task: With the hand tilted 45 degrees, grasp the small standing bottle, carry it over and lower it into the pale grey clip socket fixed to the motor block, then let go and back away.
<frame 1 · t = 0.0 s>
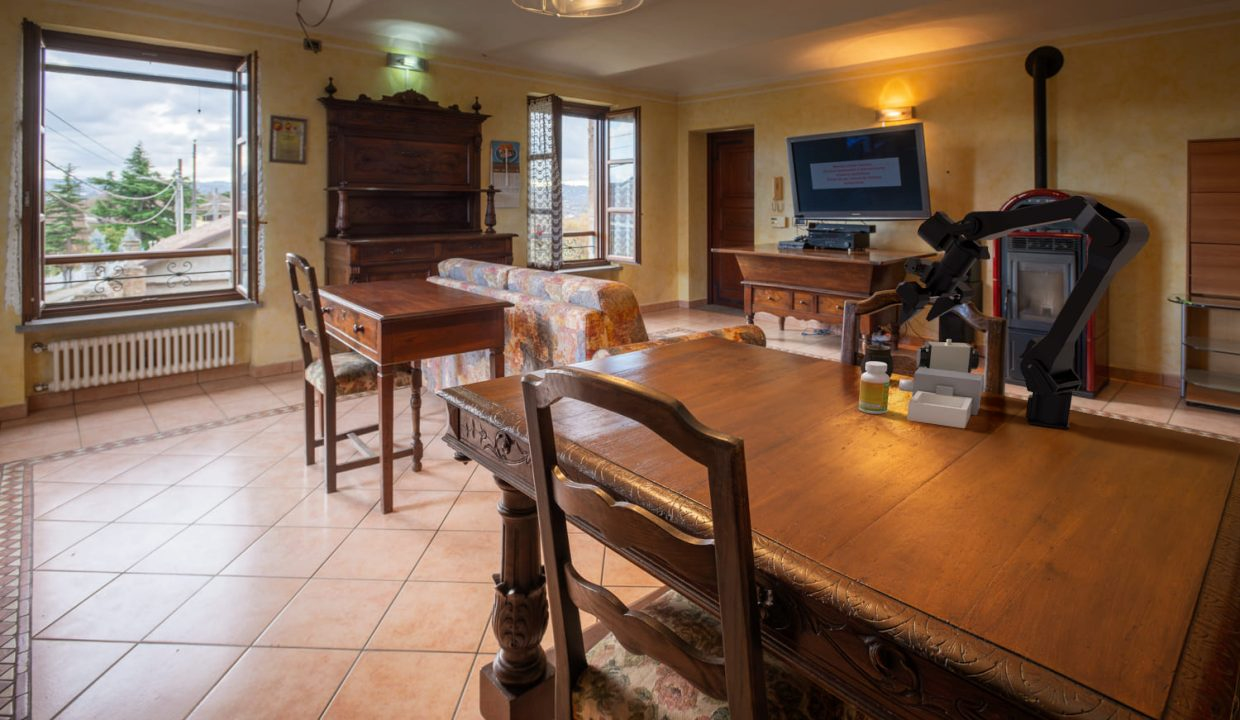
hand: (913, 321, 156), 15 cm above the table, tool tilted 35°, fingers open, 9 cm apart
supplement bottle: (872, 411, 140), on the table
mate gourd: (876, 381, 165), on the table
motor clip: (939, 417, 136), on the table
pneumatic valve: (943, 393, 154), on the table
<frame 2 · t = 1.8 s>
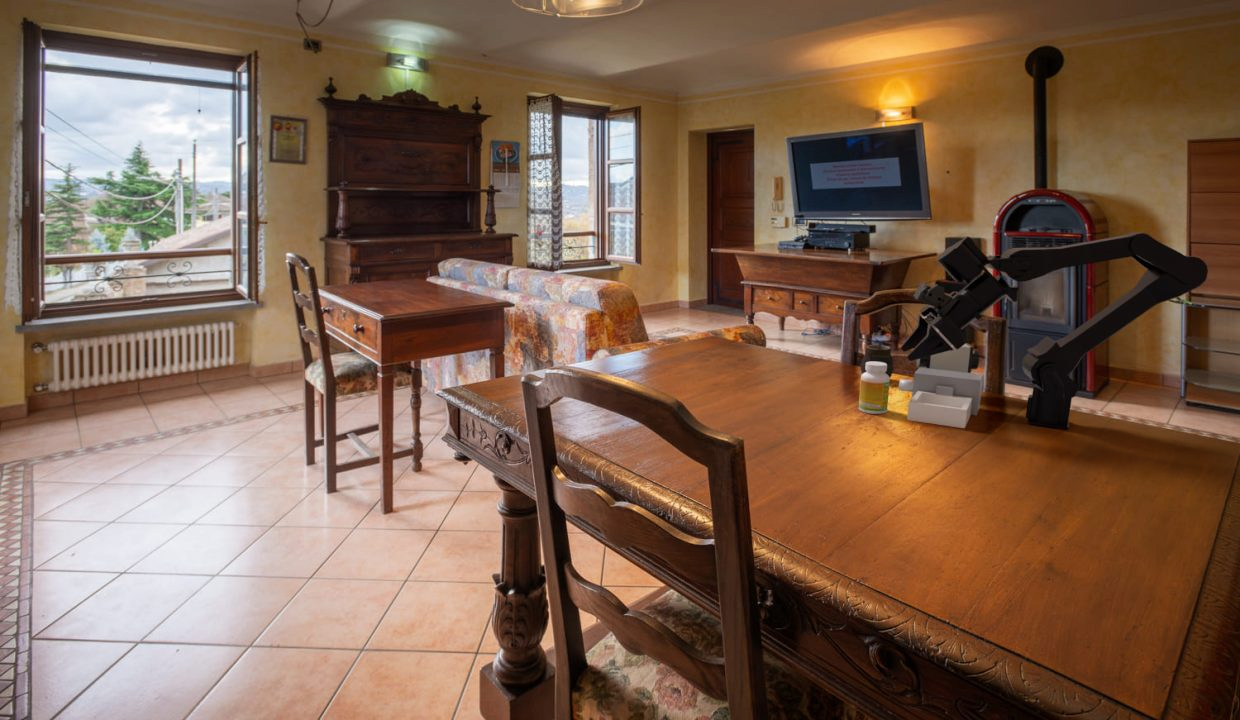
hand: (905, 354, 136), 12 cm above the table, tool tilted 45°, fingers open, 9 cm apart
nothing on the table moved.
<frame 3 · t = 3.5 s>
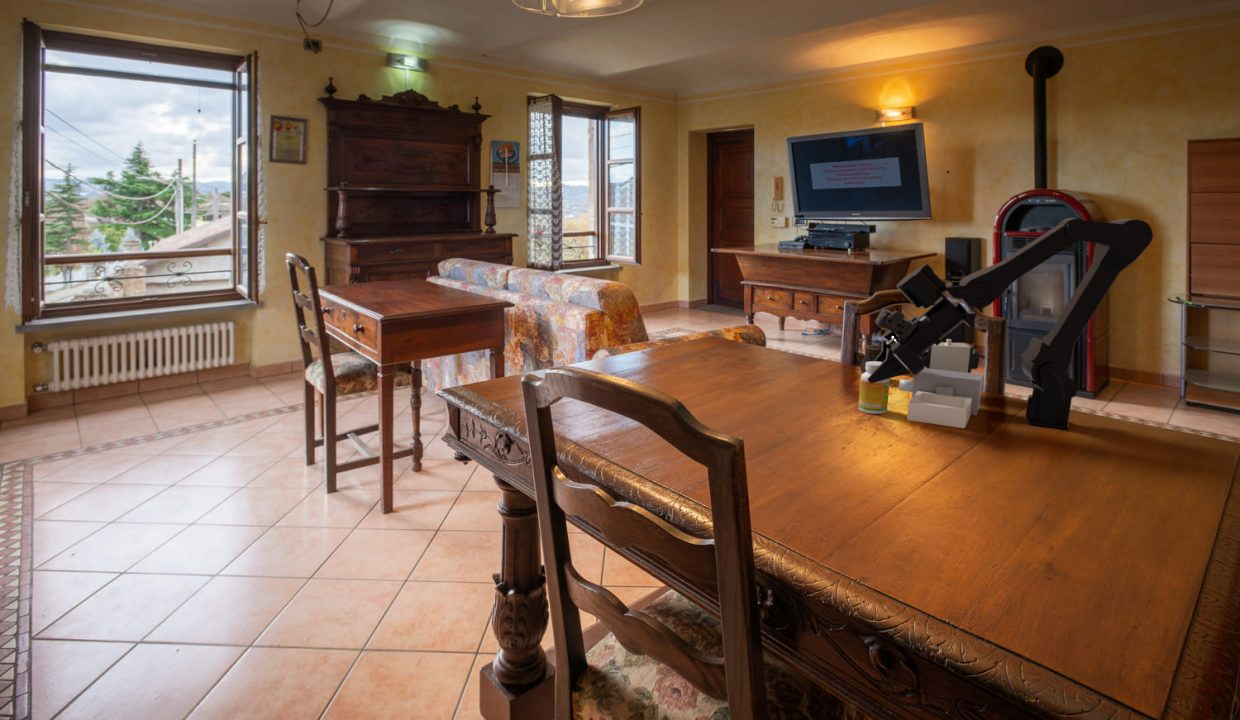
hand: (867, 378, 139), 7 cm above the table, tool tilted 45°, fingers closed on supplement bottle, 5 cm apart
supplement bottle: (872, 411, 140), on the table, touching gripper
everything else where it was.
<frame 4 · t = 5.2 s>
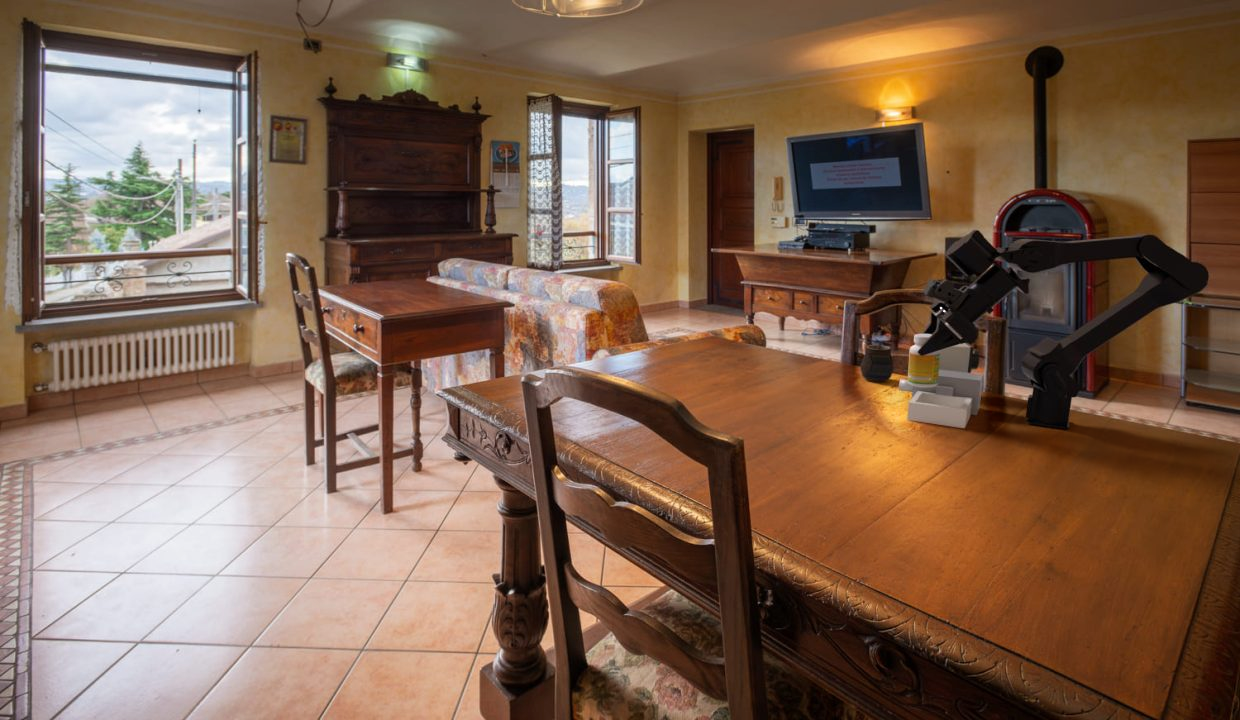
hand: (917, 351, 135), 13 cm above the table, tool tilted 45°, fingers closed on supplement bottle, 5 cm apart
supplement bottle: (922, 385, 136), point 6 cm above the table, touching gripper
everything else where it was.
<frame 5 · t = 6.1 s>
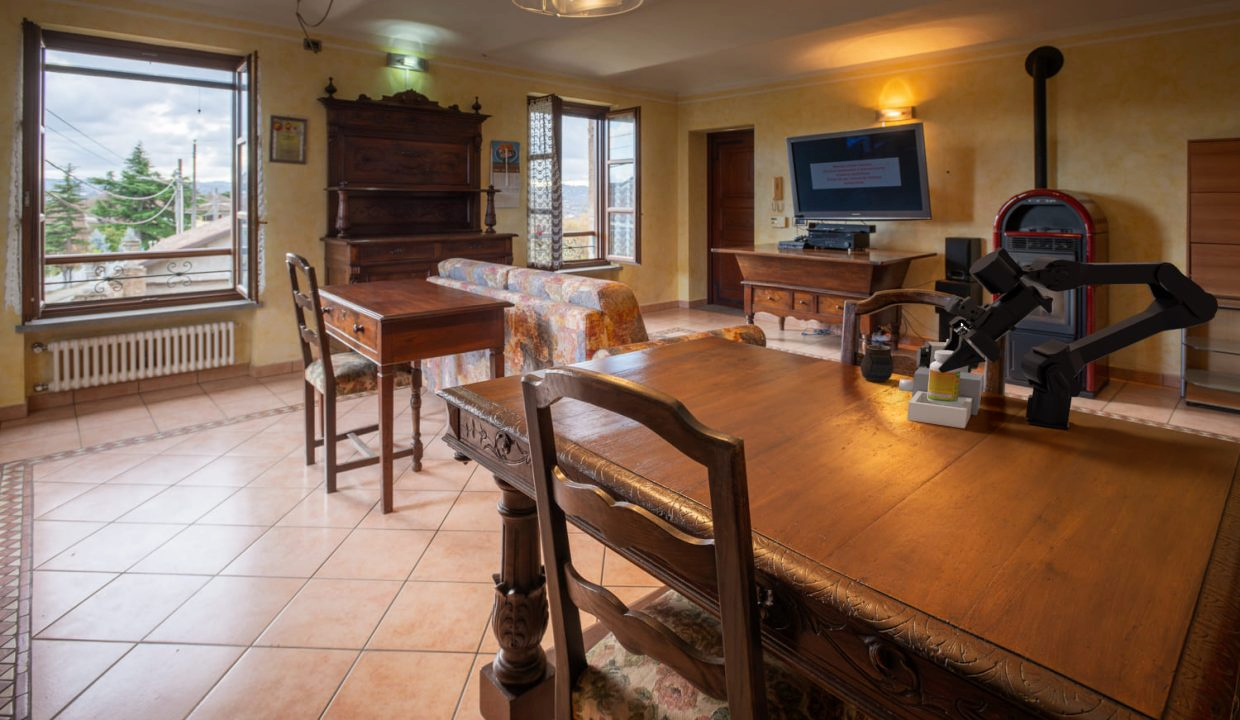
hand: (937, 367, 134), 10 cm above the table, tool tilted 45°, fingers closed on supplement bottle, 5 cm apart
supplement bottle: (942, 402, 135), point 3 cm above the table, touching gripper
everything else where it was.
when the fingers open (8 cm above the table, at t = 6.8 s): supplement bottle stays where it is, resting on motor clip.
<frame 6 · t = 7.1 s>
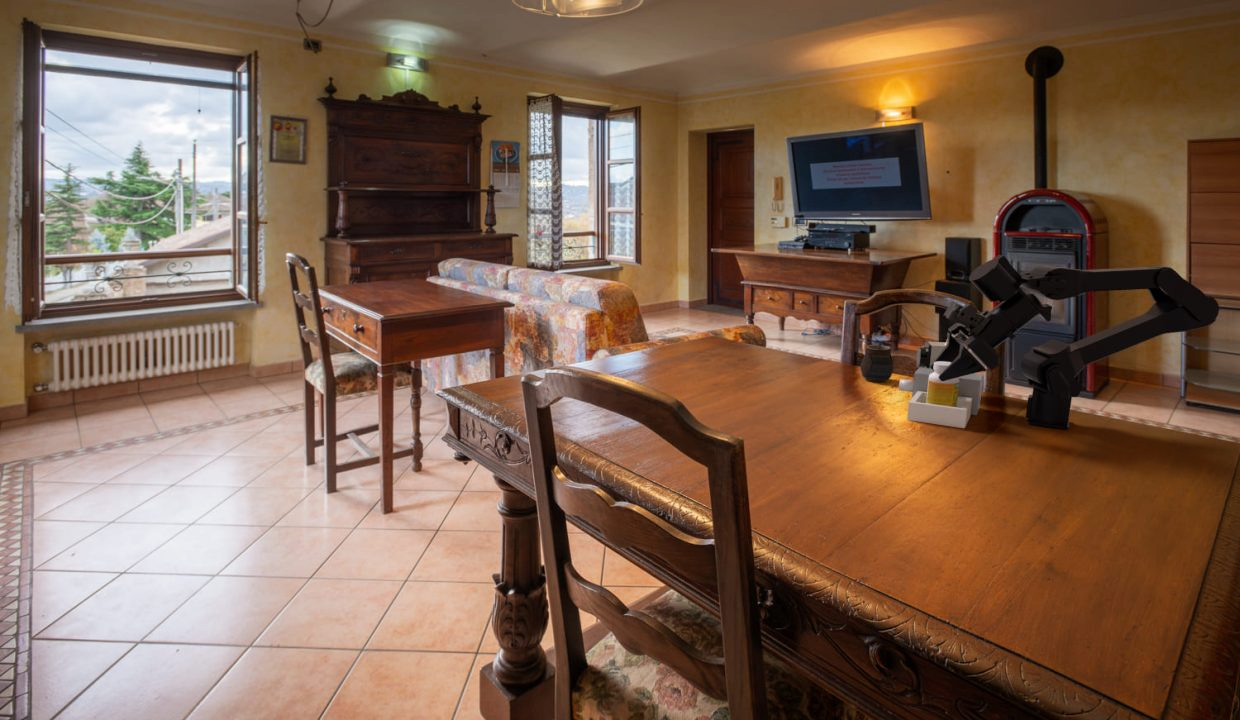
hand: (935, 374, 134), 9 cm above the table, tool tilted 45°, fingers open, 9 cm apart
supplement bottle: (940, 413, 136), point 1 cm above the table, touching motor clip
everything else where it was.
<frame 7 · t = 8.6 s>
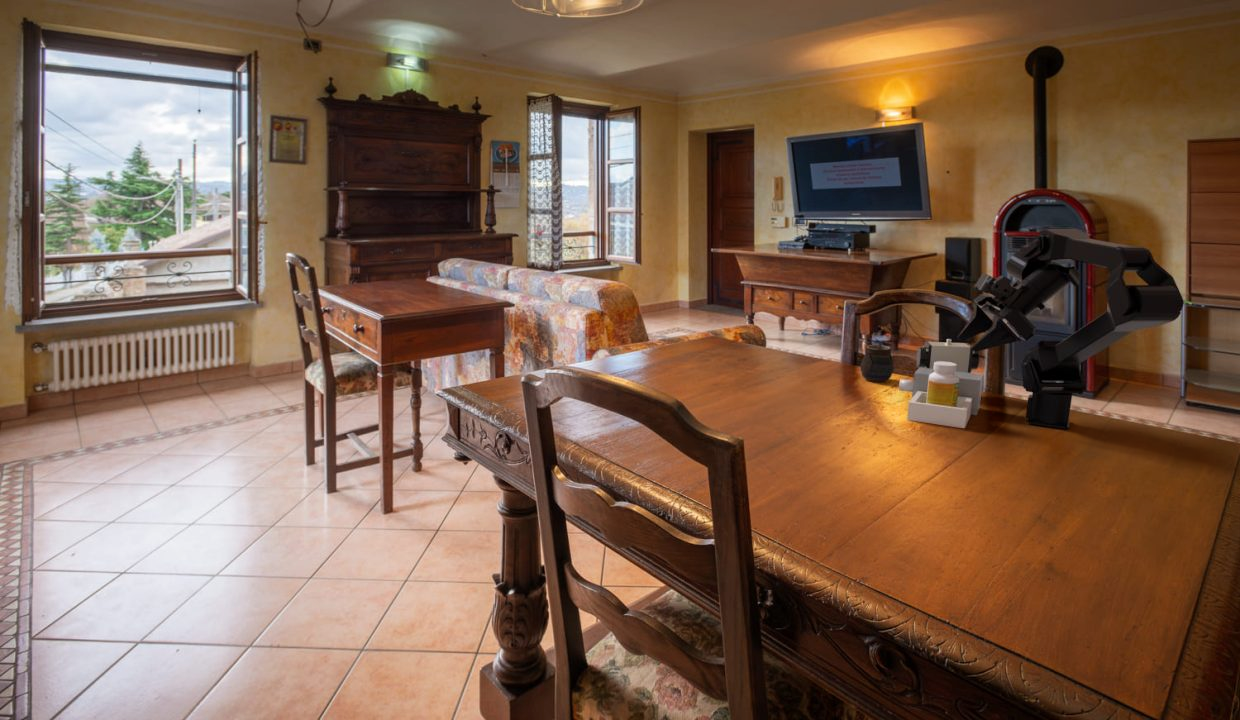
hand: (965, 344, 138), 13 cm above the table, tool tilted 45°, fingers open, 9 cm apart
nothing on the table moved.
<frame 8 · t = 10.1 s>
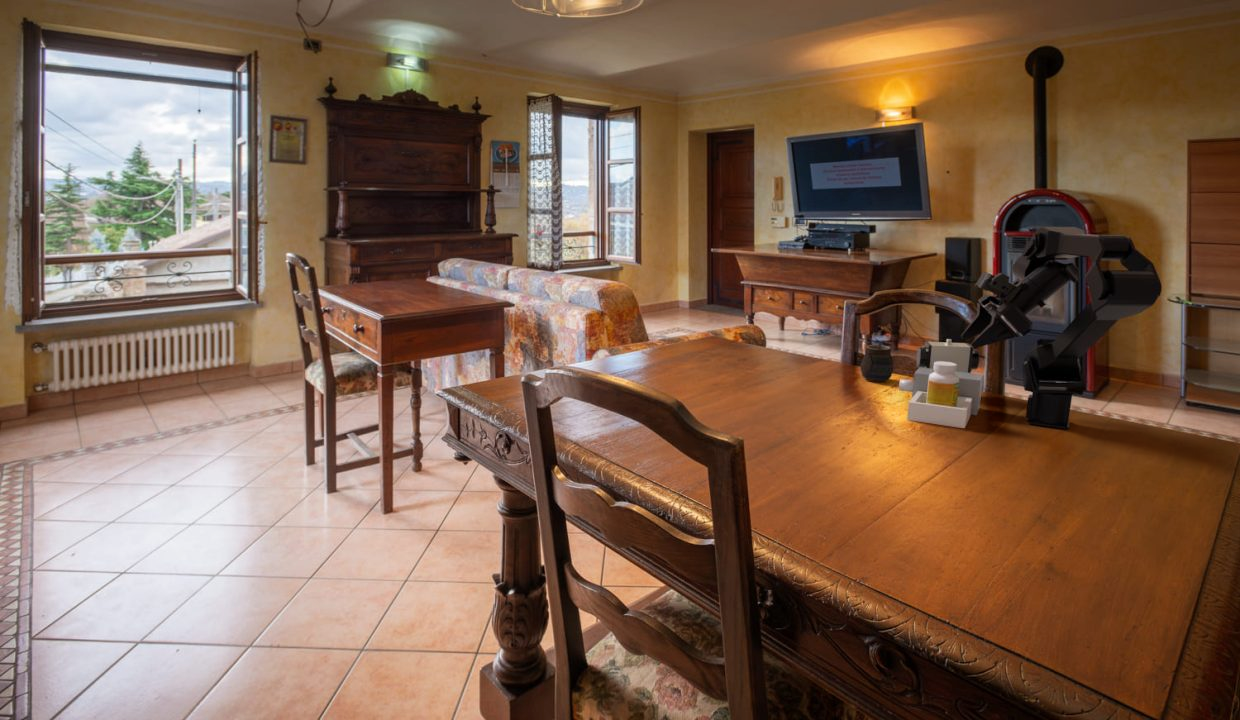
hand: (967, 342, 139), 14 cm above the table, tool tilted 45°, fingers open, 9 cm apart
nothing on the table moved.
at the end: supplement bottle inside the target area on the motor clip (0.1 cm from its centre), point 0.8 cm above the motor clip's base; supplement bottle tilted 0°; the gripper is holding nothing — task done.
